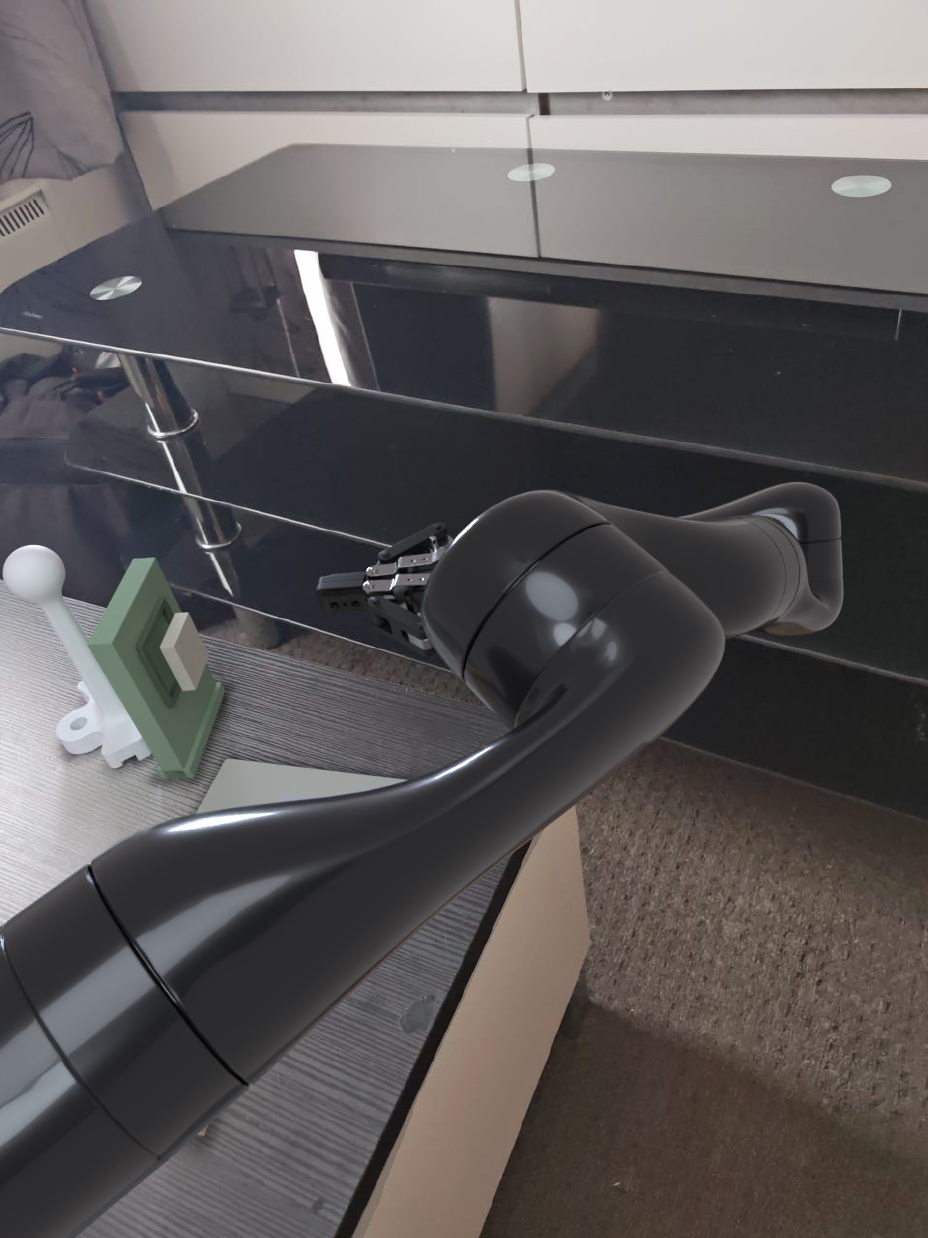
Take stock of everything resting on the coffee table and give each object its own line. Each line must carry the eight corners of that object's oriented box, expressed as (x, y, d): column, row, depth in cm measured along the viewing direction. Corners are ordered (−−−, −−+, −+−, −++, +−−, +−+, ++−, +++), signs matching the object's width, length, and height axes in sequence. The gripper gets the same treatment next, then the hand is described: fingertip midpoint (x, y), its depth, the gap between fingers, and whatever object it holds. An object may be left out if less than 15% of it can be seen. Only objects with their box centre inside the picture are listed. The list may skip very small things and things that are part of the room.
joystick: (164, 748, 80) (63, 574, 67) (80, 790, 78) (-41, 619, 65) (132, 677, 88) (36, 507, 75) (55, 713, 86) (-58, 546, 73)
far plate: (225, 691, 85) (161, 556, 74) (194, 778, 77) (118, 642, 67) (195, 692, 85) (126, 559, 74) (161, 779, 78) (80, 645, 67)
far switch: (209, 655, 77) (188, 611, 74) (196, 690, 74) (173, 646, 71) (196, 656, 77) (174, 612, 74) (182, 691, 74) (159, 647, 71)
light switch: (415, 777, 72) (375, 890, 65) (418, 786, 73) (379, 899, 66) (224, 754, 77) (168, 857, 70) (228, 763, 78) (173, 866, 71)
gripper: (545, 481, 68) (322, 501, 71) (543, 600, 59) (285, 618, 62) (554, 559, 73) (346, 575, 76) (554, 680, 64) (315, 693, 67)
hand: (319, 594), depth 69 cm, fingers closed
